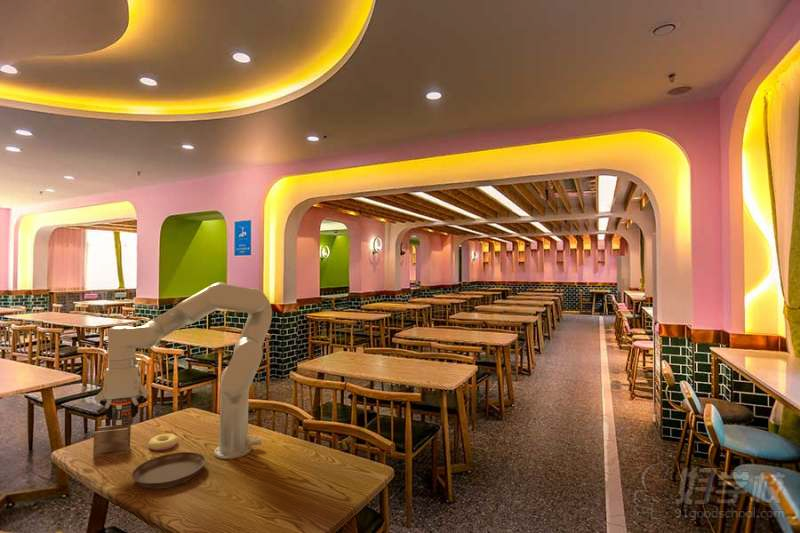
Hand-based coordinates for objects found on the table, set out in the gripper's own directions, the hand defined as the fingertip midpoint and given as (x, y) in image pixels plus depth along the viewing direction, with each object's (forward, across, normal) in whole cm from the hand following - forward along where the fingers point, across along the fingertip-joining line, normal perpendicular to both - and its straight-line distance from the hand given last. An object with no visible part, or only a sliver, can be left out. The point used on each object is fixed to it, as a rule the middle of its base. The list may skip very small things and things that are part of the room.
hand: (122, 417), depth 137 cm
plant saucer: (+18, -15, +11) cm, 26 cm away
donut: (+17, -10, -14) cm, 24 cm away
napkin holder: (+16, +6, -14) cm, 22 cm away
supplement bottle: (+3, 0, 0) cm, 3 cm away
